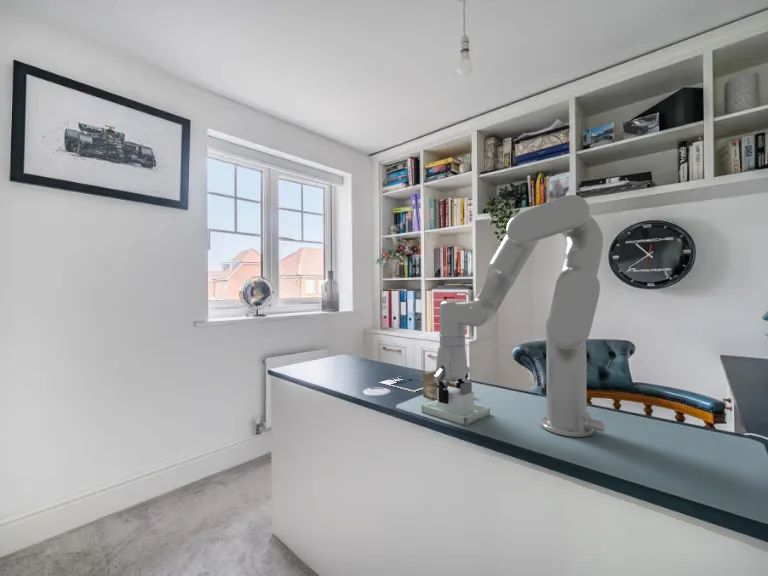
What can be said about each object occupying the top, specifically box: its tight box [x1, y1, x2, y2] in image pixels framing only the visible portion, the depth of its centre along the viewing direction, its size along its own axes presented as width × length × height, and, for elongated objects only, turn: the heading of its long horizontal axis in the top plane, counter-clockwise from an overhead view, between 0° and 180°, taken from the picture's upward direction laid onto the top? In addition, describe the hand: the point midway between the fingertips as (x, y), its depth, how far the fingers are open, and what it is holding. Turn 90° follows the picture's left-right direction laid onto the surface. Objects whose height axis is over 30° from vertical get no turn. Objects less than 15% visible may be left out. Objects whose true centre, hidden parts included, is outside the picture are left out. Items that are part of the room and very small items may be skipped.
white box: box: [437, 381, 475, 416], centre depth 109 cm, size 9×6×9 cm, turn 44°
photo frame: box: [378, 377, 423, 393], centre depth 142 cm, size 15×1×18 cm
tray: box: [421, 399, 491, 426], centre depth 108 cm, size 16×13×2 cm
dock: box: [422, 369, 457, 400], centre depth 126 cm, size 12×12×8 cm
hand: (452, 399), depth 109 cm, fingers open, 8 cm apart
